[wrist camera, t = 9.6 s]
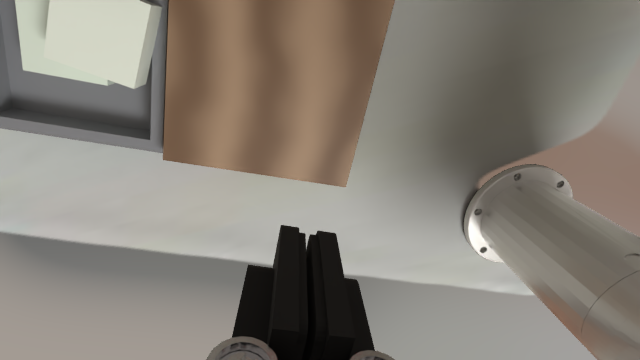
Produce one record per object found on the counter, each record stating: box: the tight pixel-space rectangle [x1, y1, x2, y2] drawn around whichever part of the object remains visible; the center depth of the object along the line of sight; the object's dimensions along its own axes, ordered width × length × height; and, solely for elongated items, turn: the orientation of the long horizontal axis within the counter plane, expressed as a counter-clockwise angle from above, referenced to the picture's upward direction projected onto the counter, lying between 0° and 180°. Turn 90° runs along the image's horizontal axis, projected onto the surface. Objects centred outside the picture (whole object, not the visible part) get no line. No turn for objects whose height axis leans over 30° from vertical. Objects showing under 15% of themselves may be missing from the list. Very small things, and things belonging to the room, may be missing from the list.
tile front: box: [44, 0, 162, 89], centre depth 25 cm, size 6×6×2 cm
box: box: [0, 0, 169, 153], centre depth 27 cm, size 14×16×3 cm
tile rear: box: [15, 0, 115, 86], centre depth 27 cm, size 6×6×2 cm
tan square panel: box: [163, 0, 395, 187], centre depth 29 cm, size 16×16×4 cm
